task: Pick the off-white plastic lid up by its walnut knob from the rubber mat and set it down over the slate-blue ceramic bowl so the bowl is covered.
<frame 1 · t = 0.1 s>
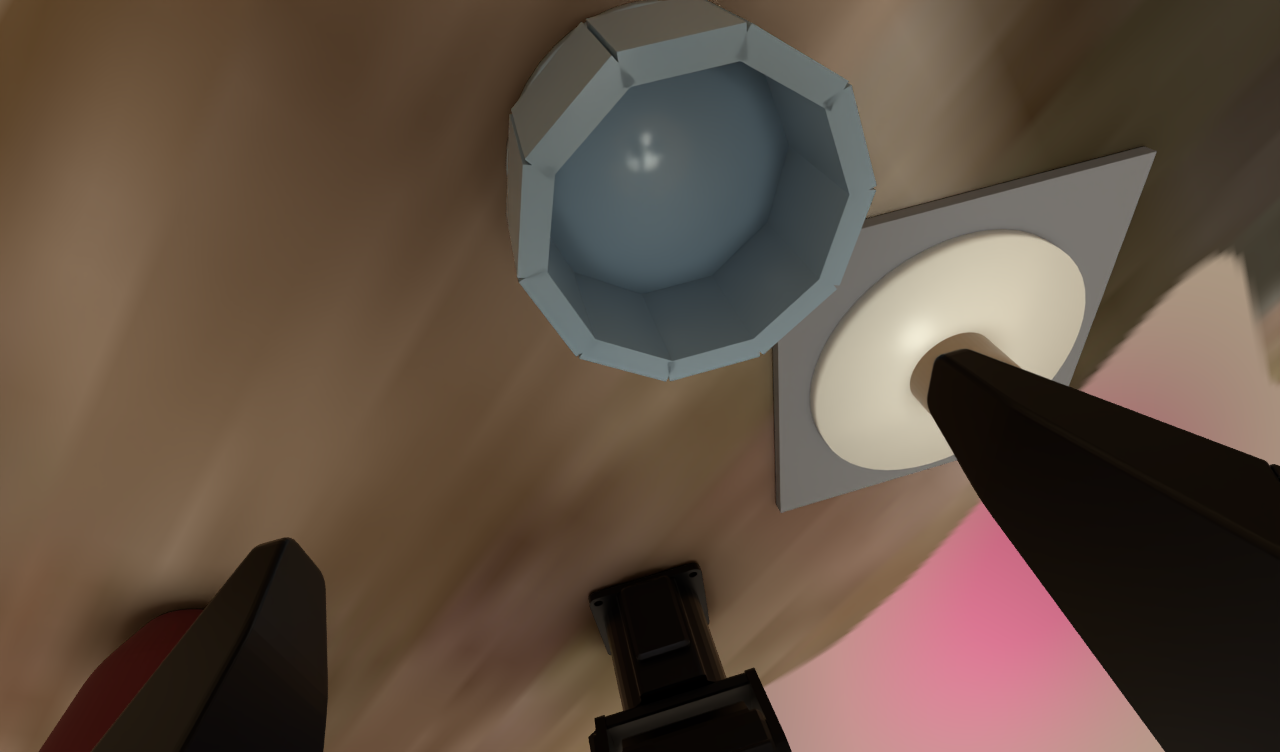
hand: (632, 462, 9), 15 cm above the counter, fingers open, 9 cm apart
mug: (210, 615, 30), on the counter
mat: (933, 351, 30), on the counter
bowl: (656, 168, 22), on the counter
lid: (940, 358, 30), point 1 cm above the counter, touching mat
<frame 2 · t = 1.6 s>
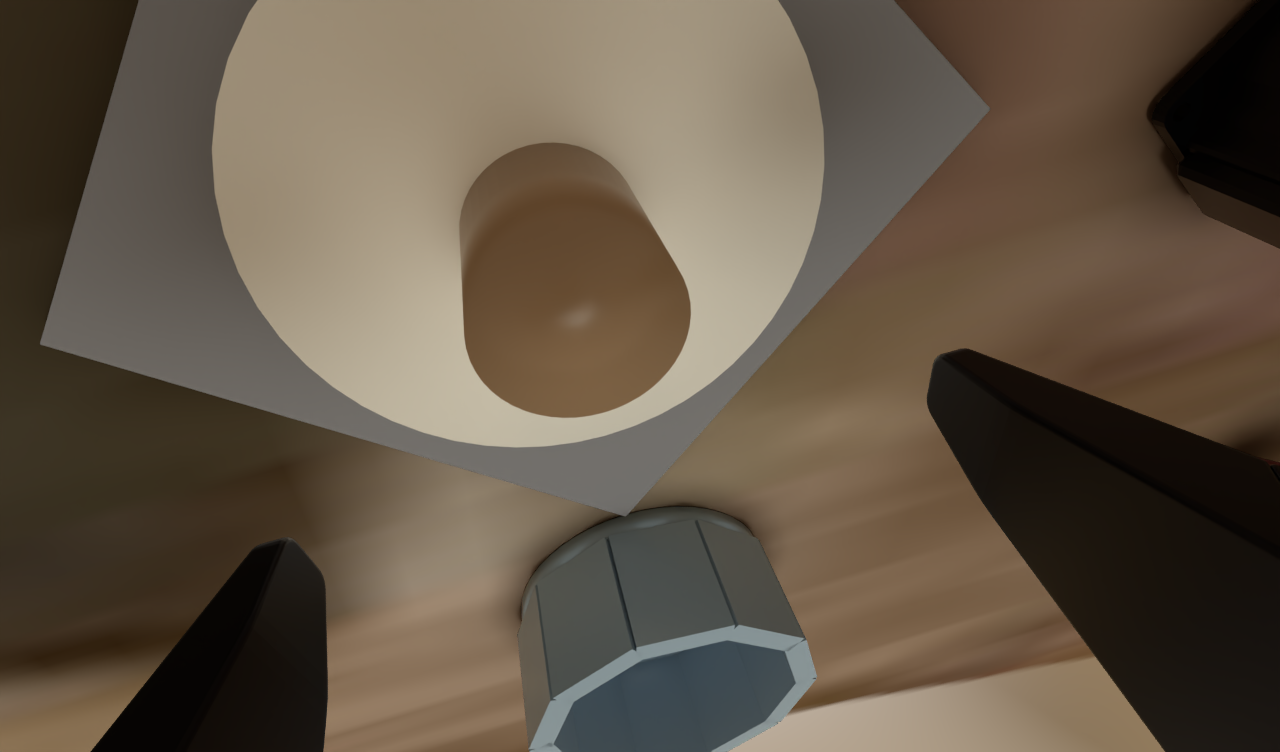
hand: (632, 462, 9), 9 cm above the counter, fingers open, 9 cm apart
mat: (544, 208, 15), on the counter
bowl: (644, 590, 26), on the counter
lid: (547, 218, 15), point 1 cm above the counter, touching mat
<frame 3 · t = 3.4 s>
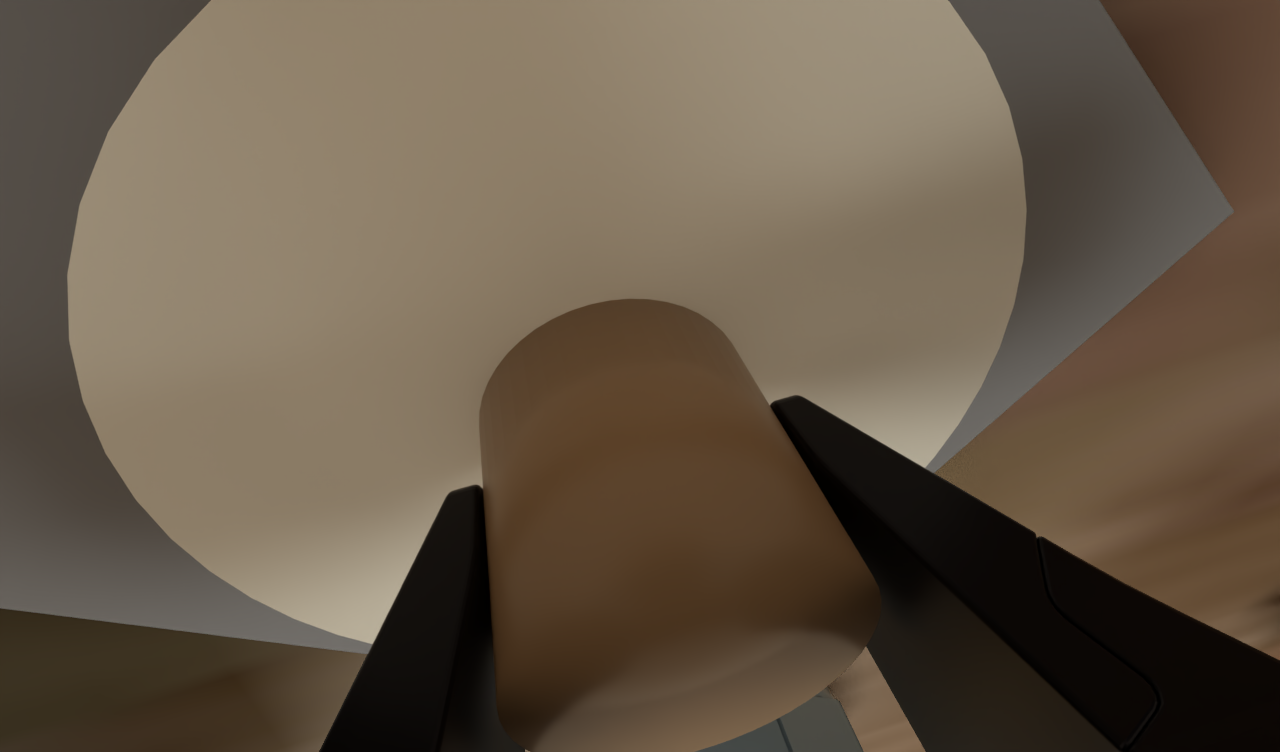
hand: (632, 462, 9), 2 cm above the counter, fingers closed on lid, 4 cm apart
mat: (598, 359, 11), on the counter
bowl: (693, 749, 22), on the counter
lid: (606, 382, 10), point 1 cm above the counter, touching gripper, mat
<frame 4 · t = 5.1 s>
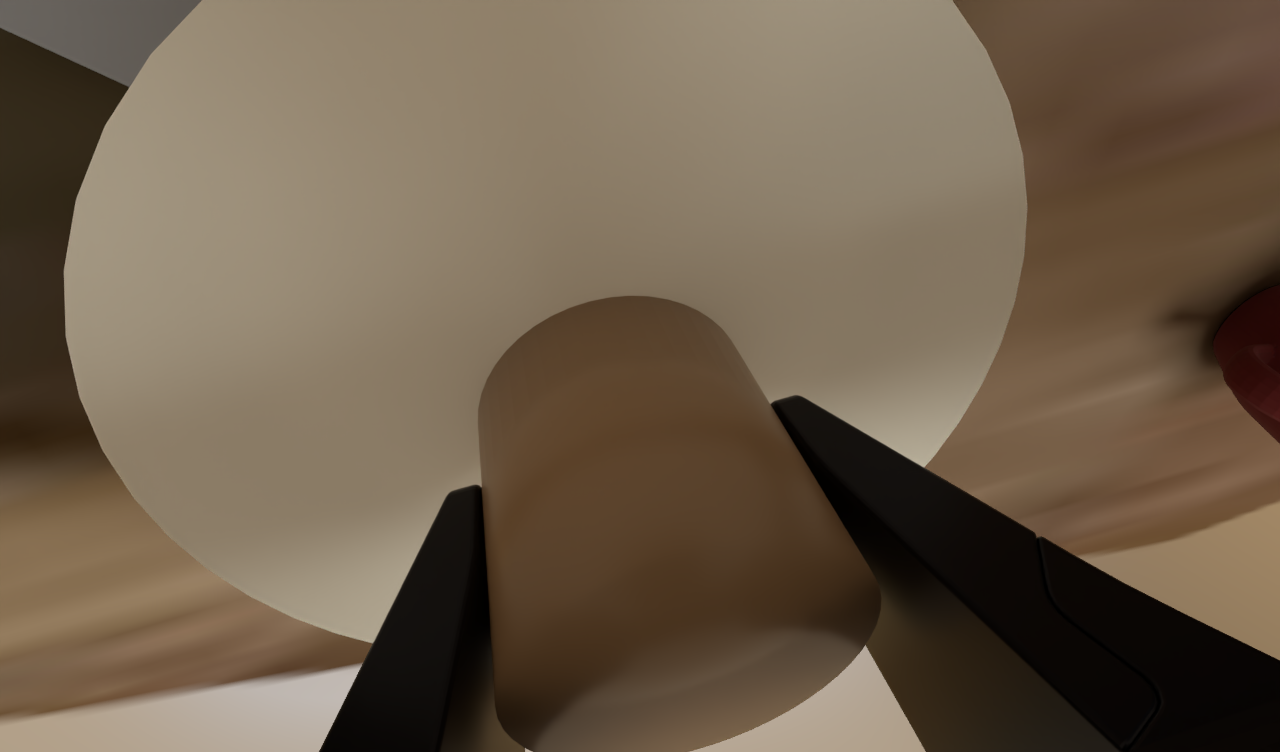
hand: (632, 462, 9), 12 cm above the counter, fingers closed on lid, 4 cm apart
mug: (1228, 321, 30), on the counter
lid: (605, 380, 10), point 10 cm above the counter, touching gripper
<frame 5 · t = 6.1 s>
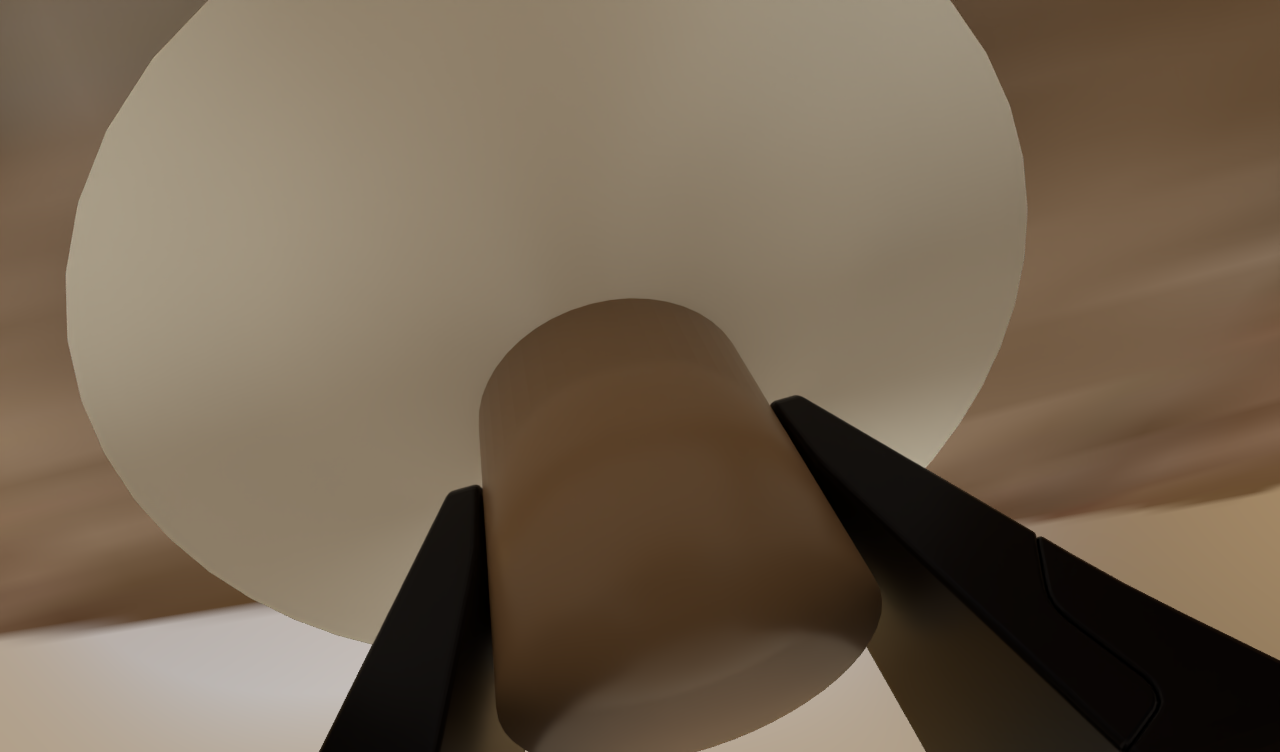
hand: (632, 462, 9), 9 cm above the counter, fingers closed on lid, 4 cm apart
lid: (606, 382, 10), point 7 cm above the counter, touching gripper
when the fingers open (8 cm above the counter, at t = 6.8 s): lid drops 1 cm, resting on bowl.
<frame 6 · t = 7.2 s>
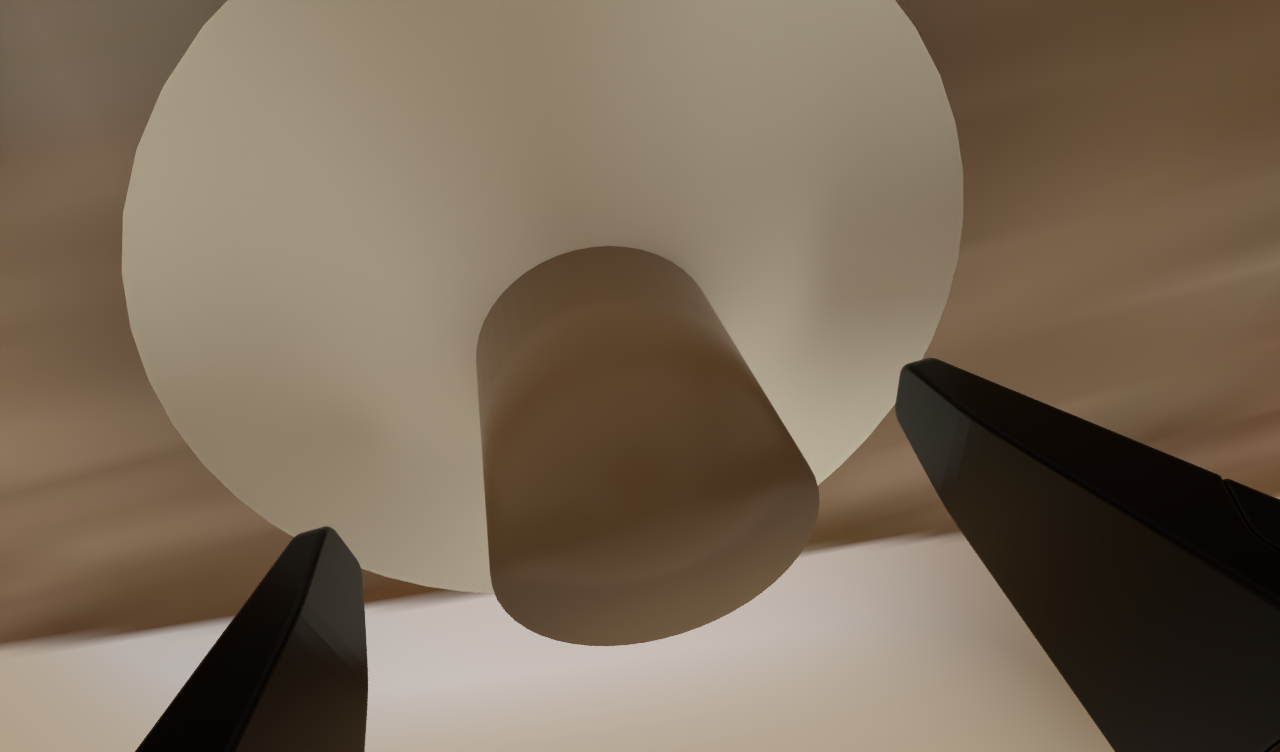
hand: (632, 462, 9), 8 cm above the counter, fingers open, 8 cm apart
lid: (591, 329, 11), point 5 cm above the counter, touching bowl
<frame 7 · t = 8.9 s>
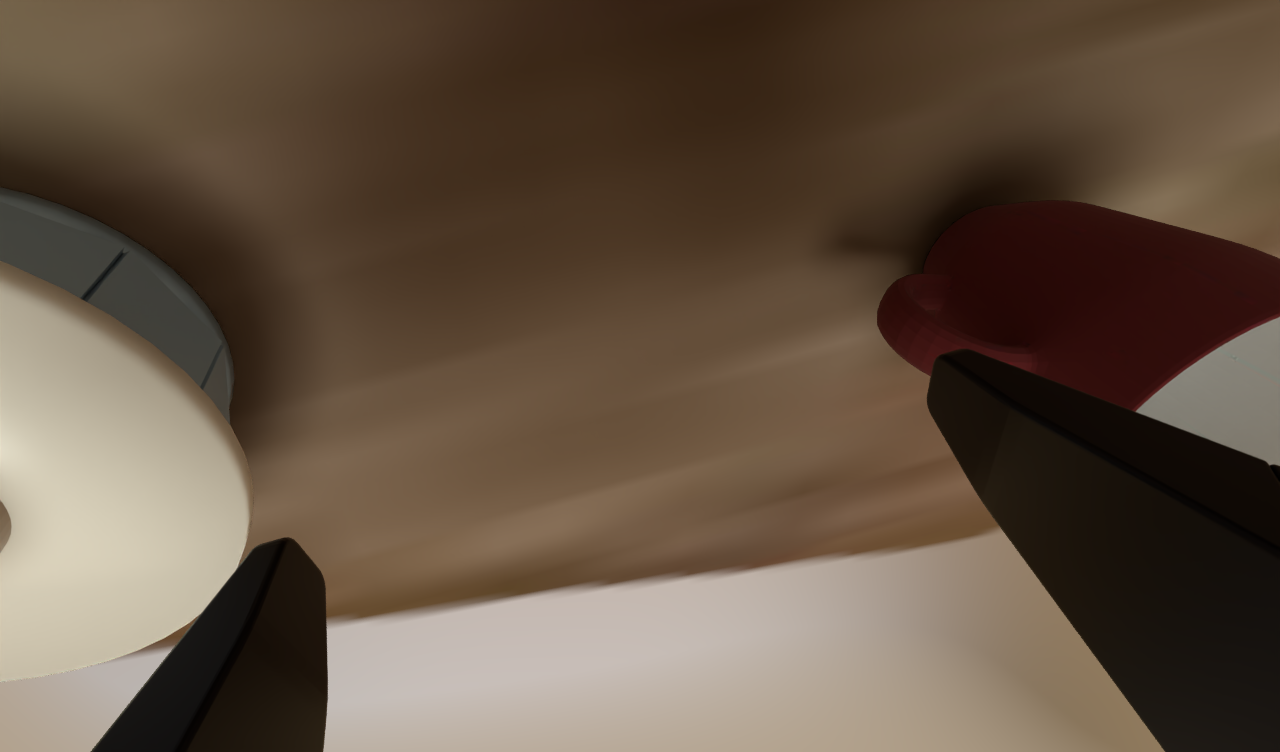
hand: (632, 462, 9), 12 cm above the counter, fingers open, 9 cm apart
mug: (938, 256, 24), on the counter
bowl: (25, 355, 18), on the counter
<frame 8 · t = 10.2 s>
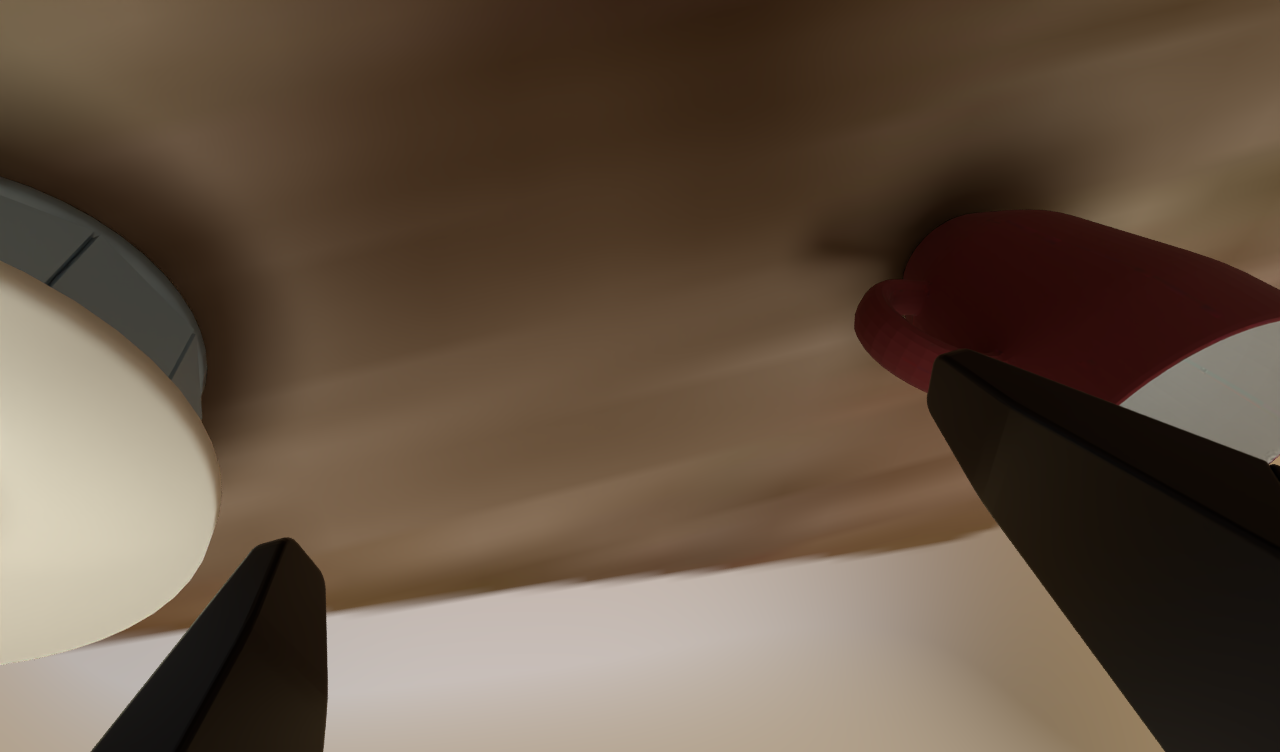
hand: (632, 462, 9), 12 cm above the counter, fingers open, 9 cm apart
mug: (919, 262, 24), on the counter
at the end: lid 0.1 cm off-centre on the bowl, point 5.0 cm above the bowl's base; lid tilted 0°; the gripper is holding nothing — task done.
